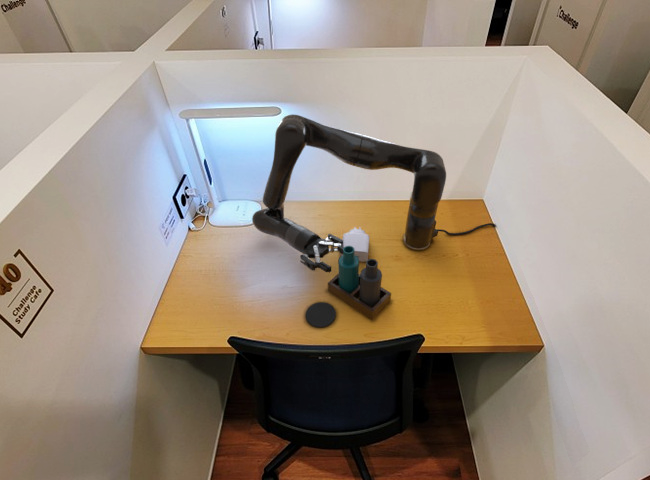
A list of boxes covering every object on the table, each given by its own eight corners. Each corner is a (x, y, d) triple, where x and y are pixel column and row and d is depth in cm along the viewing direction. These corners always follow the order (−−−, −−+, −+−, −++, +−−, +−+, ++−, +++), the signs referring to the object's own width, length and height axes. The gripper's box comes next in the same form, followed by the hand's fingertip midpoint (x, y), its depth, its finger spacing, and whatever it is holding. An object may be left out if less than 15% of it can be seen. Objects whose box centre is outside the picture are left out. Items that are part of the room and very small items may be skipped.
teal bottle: (351, 280, 119) (352, 239, 106) (361, 292, 115) (363, 252, 103) (335, 287, 117) (334, 247, 104) (345, 299, 113) (344, 259, 101)
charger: (370, 233, 135) (367, 262, 124) (345, 231, 136) (340, 260, 125) (370, 223, 131) (368, 252, 121) (345, 221, 132) (340, 250, 122)
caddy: (346, 274, 120) (346, 266, 118) (390, 301, 112) (391, 293, 110) (328, 291, 116) (327, 282, 113) (372, 320, 108) (372, 312, 105)
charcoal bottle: (372, 292, 115) (375, 252, 102) (382, 305, 111) (387, 265, 99) (355, 300, 113) (356, 260, 100) (366, 313, 109) (368, 273, 97)
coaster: (327, 299, 113) (326, 297, 113) (341, 319, 108) (341, 318, 107) (300, 310, 110) (300, 309, 110) (313, 332, 105) (313, 331, 104)
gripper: (284, 242, 111) (323, 266, 104) (316, 219, 119) (355, 240, 111) (287, 259, 117) (324, 284, 109) (317, 236, 124) (355, 258, 117)
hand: (340, 262), depth 110 cm, fingers open, 8 cm apart
